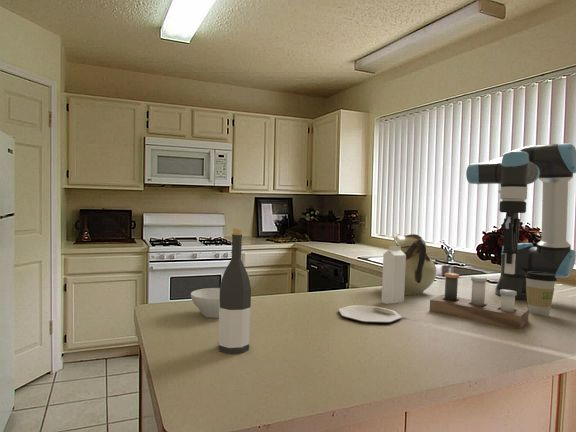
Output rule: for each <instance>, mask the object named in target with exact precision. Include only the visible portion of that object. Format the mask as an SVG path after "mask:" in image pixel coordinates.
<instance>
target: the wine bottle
mask: <svg viewBox="0 0 576 432" xmlns="http://www.w3.org/2000/svg"><path fill="white" fill-rule="evenodd" d="M231 237H232V238H231V259H230V261H229V263H228V265H227V267H226V268H225V270H224V272H223V275H222V276H221V281H220V286H219V288H220V300H219V318H218V333H217V336H218V337H217V340H218V341H217V344H218V352H220V353H224V354H226V355H235V354H236V355H238V354H243V353H245V352H247V351H249V349H250V338H251V337H250V336H251V335H250V333H251V332H250V331H251V306H252V305H251V304H252V303H251V301H252V287H251V281H250V278H249V275H248V271H247V270H246V267H245V265H244V263H243V260H242V243H243V241H242V240H243V234H242V228H233V229H232V234H231Z"/></svg>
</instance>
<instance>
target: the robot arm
mask: <svg viewBox="0 0 576 432" xmlns="http://www.w3.org/2000/svg"><path fill="white" fill-rule="evenodd" d="M465 171H466V175H465V176H466V177H465V178H466V181H467V182H468V183H469V184H471V185H489V184H490V185H491V184H493V185H494V184H495V185H497V184H498V185H499V184H500V189H499V190H498V193H499V194H500V195H499V199H500V202H499V209H498V211H499V213H505V218H504V219H503V222H502V229H503V230H502V231H503V233H502V235H503V237H502V238H503V245H502V247H501V249H502V250H501V254H500V256H501V259H500V260H501V262H500V276H499V279H498V282H497V284H496V287H495V291H494V293H495V295H498V296H499V297H501V294H500V290H501V289H505V290H513V291H516V292H517V295H516V296H515V300H516V299H517V300H527V292H526V278H525V275H526V274H527V272H528V271H537V272H546V273H552V274H555V278H561V279H563V278H564V279H566V278H568V277H570V276H571V273H572V272H573V269H574V266H575V261H576V251H575V250H574V249H571V248H572V247H571V243H569V242H568V241H567V232H568V231H567V230H568V228H567V227H568V225H567V223H568V196H569V194H568V193H569V191H568V190H569V182H570V180H572V178H574V174H576V147H575V145H574V144H572V143H552V144H550V143H549V144H541V145H540V144H539V145H529V146H528V145H527V146H523V147H521V148H516V149H513V150H510V151H508V152H507V151H506V152H504V153H502V156H501V157H498V158H494V159H492V160H489V161H485V162H475V163H470V164H469V165H468V166H467V168H466V170H465ZM538 179H539V180H540V181H541V182H542V197H541V198H542V200H541V238H540V241H538V242H537V243H536V246H534V244H533V243H532V242H520V243H519V236H520V229H521V223H522V222H521V219H520V216H519V214H525V213H526V212H527V201H526V200H527V199H528V185H530V184H533V183H534V182H536V181H537V180H538Z"/></svg>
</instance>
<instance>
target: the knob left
mask: <svg viewBox="0 0 576 432" xmlns="http://www.w3.org/2000/svg"><path fill="white" fill-rule="evenodd" d="M500 294H501V296H500V303H499V304H500V310H503V311H508V312H514V307H516V306H515V304H516V303H515V302H516V298H515V296H516V295H517V292H516V291H513V290H505V289H501V290H500Z"/></svg>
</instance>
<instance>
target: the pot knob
mask: <svg viewBox="0 0 576 432" xmlns="http://www.w3.org/2000/svg"><path fill="white" fill-rule="evenodd" d="M444 277H445V282H444V295H445V300H449V301H457V297H458V285H459V284H458V283H459V278H460V274H459V273H454V272H445V273H444Z"/></svg>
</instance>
